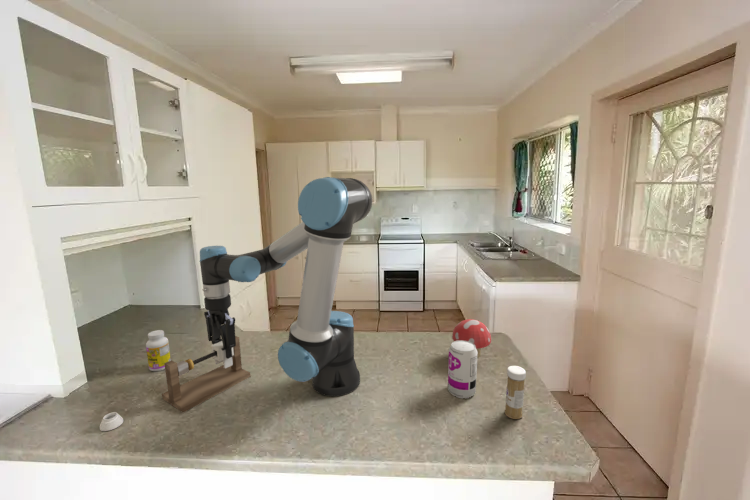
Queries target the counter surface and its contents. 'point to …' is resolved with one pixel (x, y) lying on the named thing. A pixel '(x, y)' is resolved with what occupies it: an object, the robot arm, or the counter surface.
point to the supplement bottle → (157, 350)
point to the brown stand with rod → (201, 380)
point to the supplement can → (462, 369)
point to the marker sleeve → (219, 351)
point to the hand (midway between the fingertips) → (224, 364)
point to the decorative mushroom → (472, 334)
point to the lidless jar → (111, 421)
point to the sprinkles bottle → (515, 392)
